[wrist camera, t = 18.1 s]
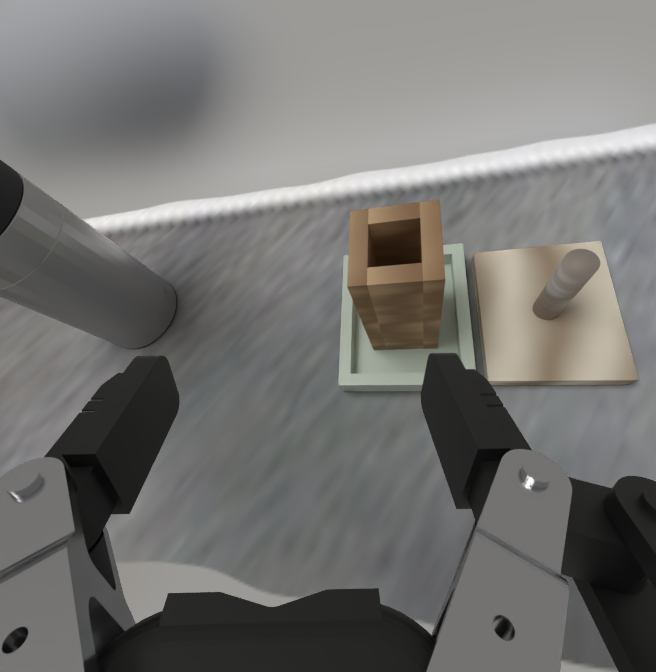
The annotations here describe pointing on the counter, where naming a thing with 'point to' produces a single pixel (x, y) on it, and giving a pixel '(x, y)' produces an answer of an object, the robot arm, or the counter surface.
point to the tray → (406, 364)
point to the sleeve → (398, 274)
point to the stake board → (548, 341)
